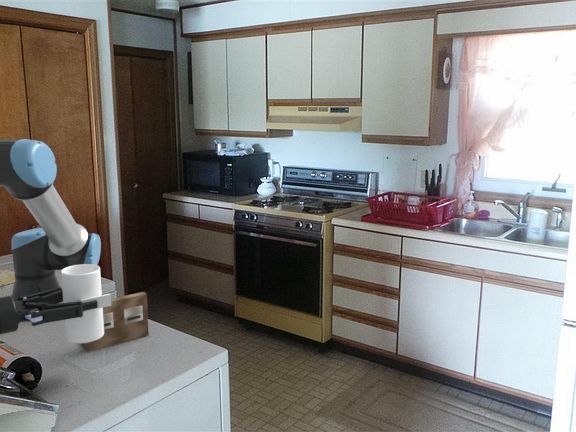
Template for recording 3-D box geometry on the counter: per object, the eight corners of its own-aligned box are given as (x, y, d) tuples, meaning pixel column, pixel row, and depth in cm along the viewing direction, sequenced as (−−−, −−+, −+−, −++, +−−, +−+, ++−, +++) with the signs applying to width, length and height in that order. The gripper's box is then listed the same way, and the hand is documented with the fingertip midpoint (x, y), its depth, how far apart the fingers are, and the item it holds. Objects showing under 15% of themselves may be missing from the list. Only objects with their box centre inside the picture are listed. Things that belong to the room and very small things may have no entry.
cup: (91, 344, 115) (87, 275, 112) (58, 341, 116) (52, 273, 113) (110, 330, 123) (106, 265, 120) (79, 327, 124) (74, 263, 121)
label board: (89, 352, 132) (86, 307, 129) (79, 340, 138) (76, 298, 136) (149, 335, 141) (147, 294, 139) (137, 326, 148) (134, 285, 145)
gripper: (-15, 319, 115) (89, 297, 130) (6, 352, 99) (121, 323, 114) (-18, 286, 114) (87, 268, 128) (2, 315, 98) (119, 290, 112)
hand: (103, 294), depth 121 cm, fingers closed on cup, 8 cm apart
